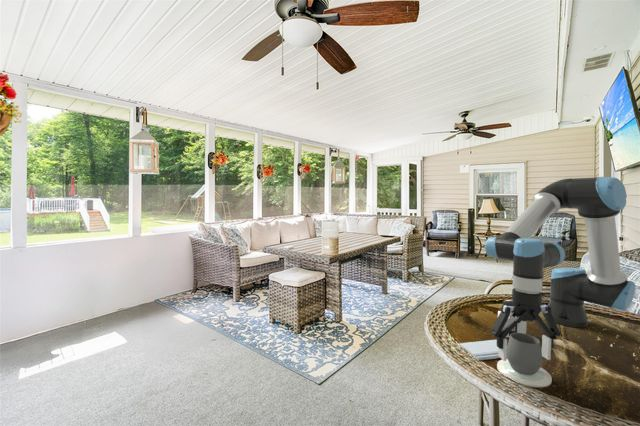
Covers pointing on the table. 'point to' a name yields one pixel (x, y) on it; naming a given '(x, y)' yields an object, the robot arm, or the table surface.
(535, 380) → the saucer
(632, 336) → the table surface
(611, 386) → the table surface
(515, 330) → the container
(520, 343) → the cup
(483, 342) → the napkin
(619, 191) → the robot arm
